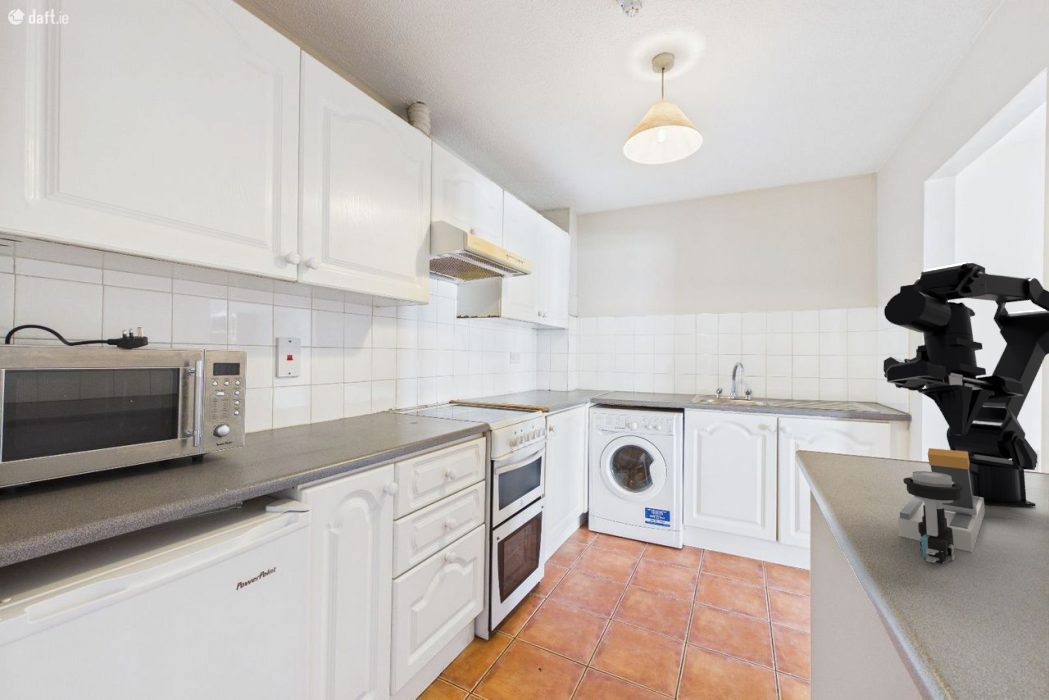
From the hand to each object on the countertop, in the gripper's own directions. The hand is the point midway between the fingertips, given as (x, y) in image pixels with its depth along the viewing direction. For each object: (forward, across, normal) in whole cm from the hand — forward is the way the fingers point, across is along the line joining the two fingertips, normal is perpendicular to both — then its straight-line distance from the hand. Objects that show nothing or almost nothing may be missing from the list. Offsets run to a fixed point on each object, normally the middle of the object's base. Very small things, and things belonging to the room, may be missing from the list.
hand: (959, 435), depth 66 cm
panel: (+14, +4, -1) cm, 14 cm away
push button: (+18, +16, +7) cm, 25 cm away
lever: (+11, +6, +2) cm, 12 cm away
